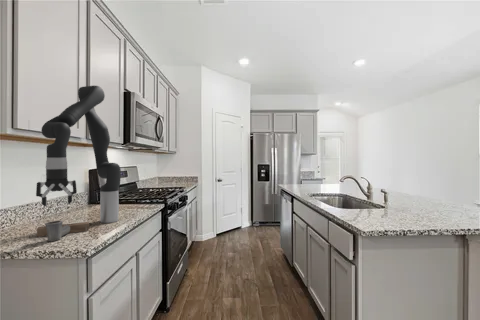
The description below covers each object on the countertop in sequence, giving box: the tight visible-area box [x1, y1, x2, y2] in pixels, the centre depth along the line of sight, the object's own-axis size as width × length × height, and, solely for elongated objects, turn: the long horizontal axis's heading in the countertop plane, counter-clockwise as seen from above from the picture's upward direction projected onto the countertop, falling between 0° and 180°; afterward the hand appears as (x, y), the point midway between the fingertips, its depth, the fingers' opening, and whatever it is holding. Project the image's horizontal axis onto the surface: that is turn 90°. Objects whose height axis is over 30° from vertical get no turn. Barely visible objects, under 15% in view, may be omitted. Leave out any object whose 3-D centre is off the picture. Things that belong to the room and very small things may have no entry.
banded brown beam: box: [36, 221, 90, 238], centre depth 120 cm, size 4×20×4 cm, turn 121°
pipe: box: [44, 220, 70, 242], centre depth 111 cm, size 6×13×8 cm, turn 3°
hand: (57, 204), depth 110 cm, fingers open, 8 cm apart
